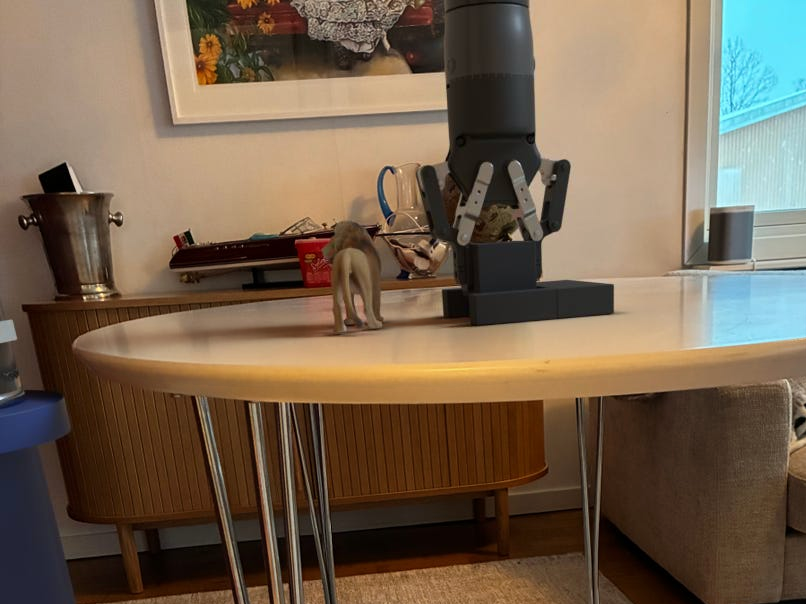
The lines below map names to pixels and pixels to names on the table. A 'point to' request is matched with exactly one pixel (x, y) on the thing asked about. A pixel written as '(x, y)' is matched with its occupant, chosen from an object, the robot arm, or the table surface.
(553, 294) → the big pad
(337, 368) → the table surface
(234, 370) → the table surface
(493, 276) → the small black block
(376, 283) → the lion figurine
